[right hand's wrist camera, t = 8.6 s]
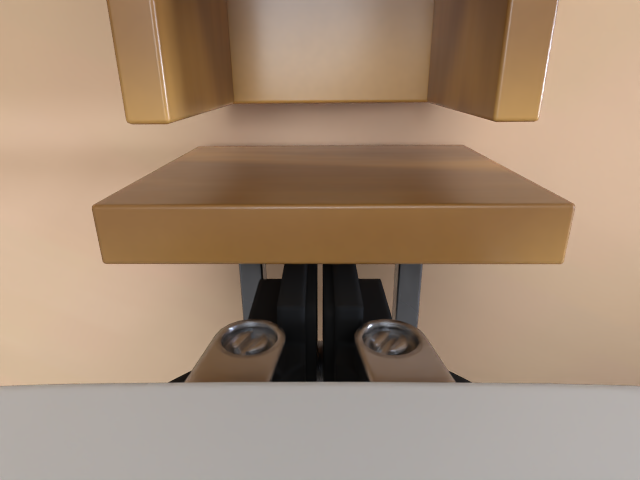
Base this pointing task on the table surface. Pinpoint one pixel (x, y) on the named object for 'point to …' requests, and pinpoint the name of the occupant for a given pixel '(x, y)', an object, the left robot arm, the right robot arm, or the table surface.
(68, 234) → the table surface
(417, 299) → the drawer
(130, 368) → the table surface
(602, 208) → the table surface
